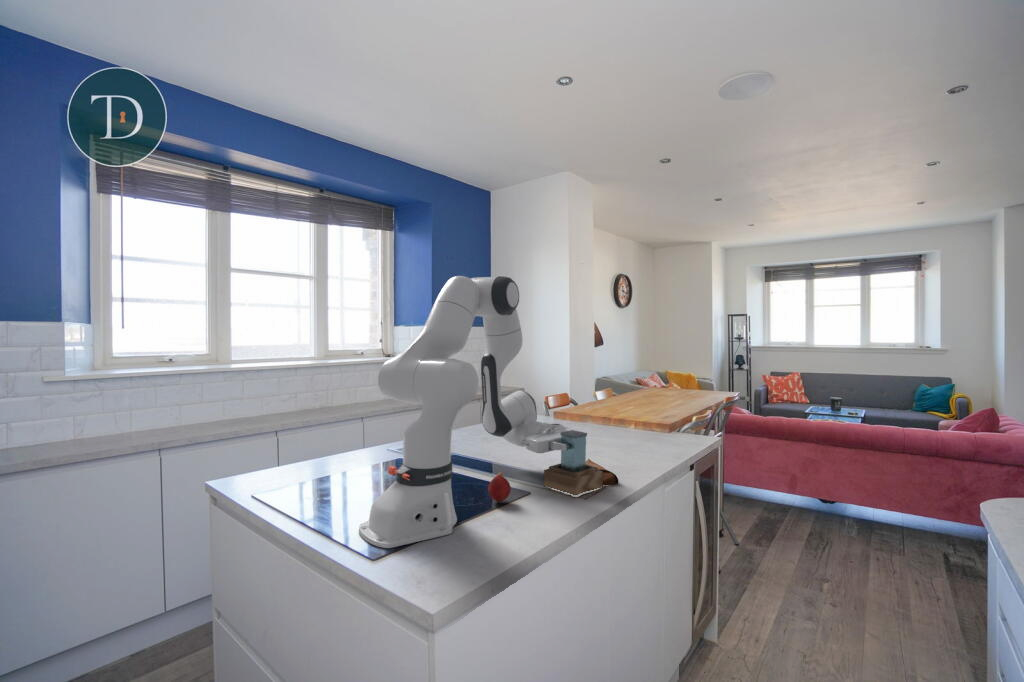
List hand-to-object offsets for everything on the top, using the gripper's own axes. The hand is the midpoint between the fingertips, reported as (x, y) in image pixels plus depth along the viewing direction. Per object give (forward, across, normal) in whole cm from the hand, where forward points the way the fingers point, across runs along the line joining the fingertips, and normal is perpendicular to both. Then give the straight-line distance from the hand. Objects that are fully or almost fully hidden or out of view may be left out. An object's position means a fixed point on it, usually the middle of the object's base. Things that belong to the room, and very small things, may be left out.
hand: (576, 445), depth 136 cm
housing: (-1, 0, +8) cm, 8 cm away
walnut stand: (-1, 0, +12) cm, 13 cm away
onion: (-6, -24, +13) cm, 28 cm away
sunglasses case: (-3, +12, +13) cm, 18 cm away
